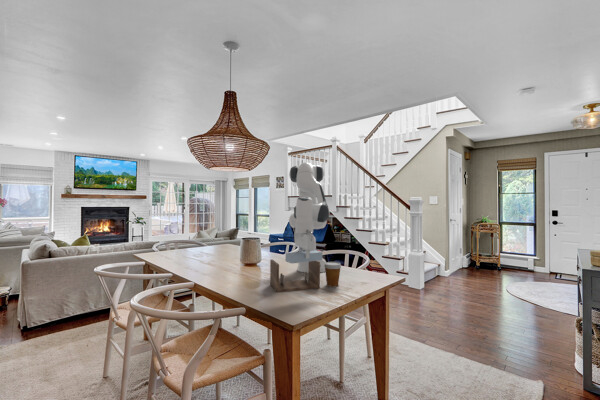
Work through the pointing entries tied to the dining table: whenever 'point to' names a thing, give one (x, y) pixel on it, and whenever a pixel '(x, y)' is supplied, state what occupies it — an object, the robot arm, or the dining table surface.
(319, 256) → the shelf board
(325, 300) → the dining table surface
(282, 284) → the shelf rack
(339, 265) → the disposable coffee cup
